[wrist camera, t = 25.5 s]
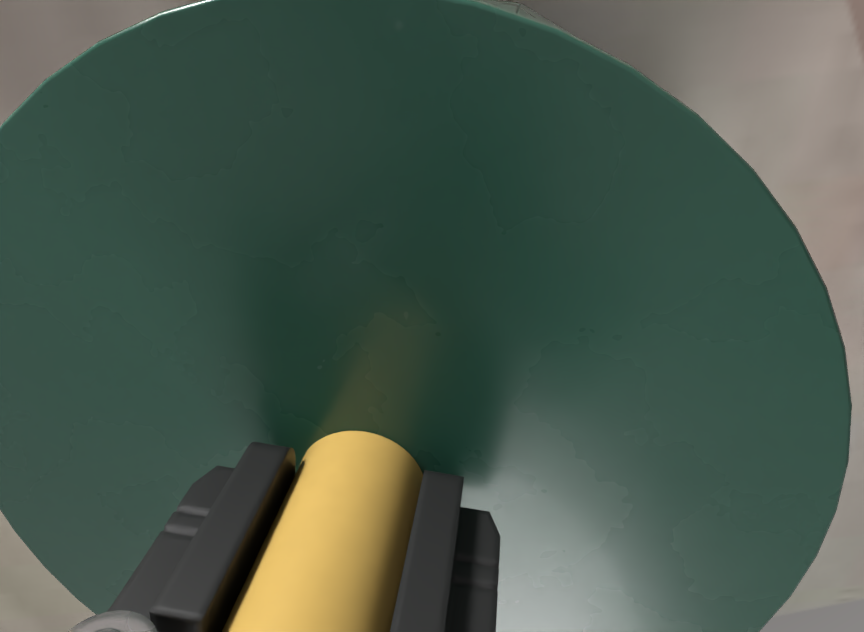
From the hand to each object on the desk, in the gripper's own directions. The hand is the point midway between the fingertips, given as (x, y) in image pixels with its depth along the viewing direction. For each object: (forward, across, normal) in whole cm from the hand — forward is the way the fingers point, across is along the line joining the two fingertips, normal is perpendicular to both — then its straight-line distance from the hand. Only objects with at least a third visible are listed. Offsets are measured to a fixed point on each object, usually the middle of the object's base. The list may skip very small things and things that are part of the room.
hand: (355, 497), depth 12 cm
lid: (+1, 0, 0) cm, 1 cm away
